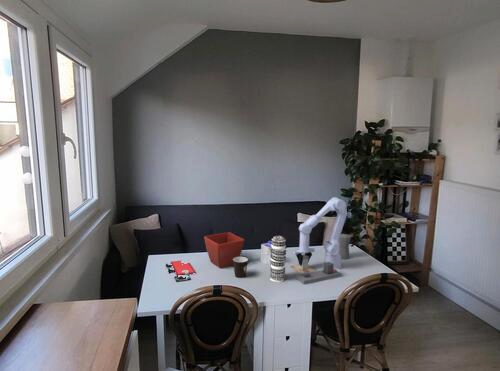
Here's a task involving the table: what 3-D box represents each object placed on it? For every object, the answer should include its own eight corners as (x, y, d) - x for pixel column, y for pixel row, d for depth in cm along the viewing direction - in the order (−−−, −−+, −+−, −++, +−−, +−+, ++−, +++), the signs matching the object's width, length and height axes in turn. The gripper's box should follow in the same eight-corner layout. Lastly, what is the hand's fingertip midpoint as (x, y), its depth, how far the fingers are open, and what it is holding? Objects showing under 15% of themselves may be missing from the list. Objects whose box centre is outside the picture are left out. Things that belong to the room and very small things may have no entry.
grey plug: (304, 266, 213) (304, 254, 212) (308, 268, 210) (308, 256, 209) (298, 267, 212) (299, 255, 210) (302, 269, 208) (302, 257, 207)
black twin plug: (328, 274, 203) (329, 261, 202) (332, 277, 200) (333, 264, 198) (323, 275, 201) (323, 262, 200) (327, 278, 198) (328, 265, 197)
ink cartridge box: (277, 264, 217) (277, 242, 215) (270, 266, 214) (271, 244, 212) (266, 260, 225) (267, 239, 223) (260, 262, 221) (260, 240, 219)
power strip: (331, 272, 207) (331, 266, 206) (340, 277, 200) (340, 271, 199) (295, 279, 195) (295, 274, 195) (303, 285, 188) (303, 279, 188)
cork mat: (305, 264, 219) (305, 263, 219) (317, 271, 208) (317, 270, 208) (289, 267, 213) (289, 266, 213) (300, 274, 203) (300, 273, 203)
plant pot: (244, 264, 216) (245, 239, 214) (218, 271, 206) (218, 244, 203) (229, 255, 232) (229, 231, 229) (203, 261, 221) (203, 236, 218)
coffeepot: (335, 259, 227) (337, 233, 225) (331, 254, 237) (332, 229, 234) (358, 259, 229) (359, 233, 226) (353, 254, 238) (354, 229, 235)
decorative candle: (273, 274, 202) (274, 233, 198) (288, 278, 197) (289, 236, 194) (266, 280, 194) (267, 237, 191) (281, 283, 190) (282, 240, 186)
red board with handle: (172, 283, 189) (199, 279, 195) (172, 278, 189) (199, 274, 195) (164, 264, 217) (187, 261, 222) (164, 260, 216) (187, 257, 222)
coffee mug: (236, 279, 194) (237, 263, 192) (230, 274, 202) (230, 258, 200) (254, 276, 199) (255, 259, 198) (248, 270, 207) (248, 255, 205)
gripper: (310, 239, 215) (309, 260, 217) (290, 242, 209) (290, 264, 211) (317, 243, 209) (316, 264, 211) (297, 246, 202) (296, 268, 204)
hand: (303, 264), depth 210 cm, fingers closed on grey plug, 4 cm apart
